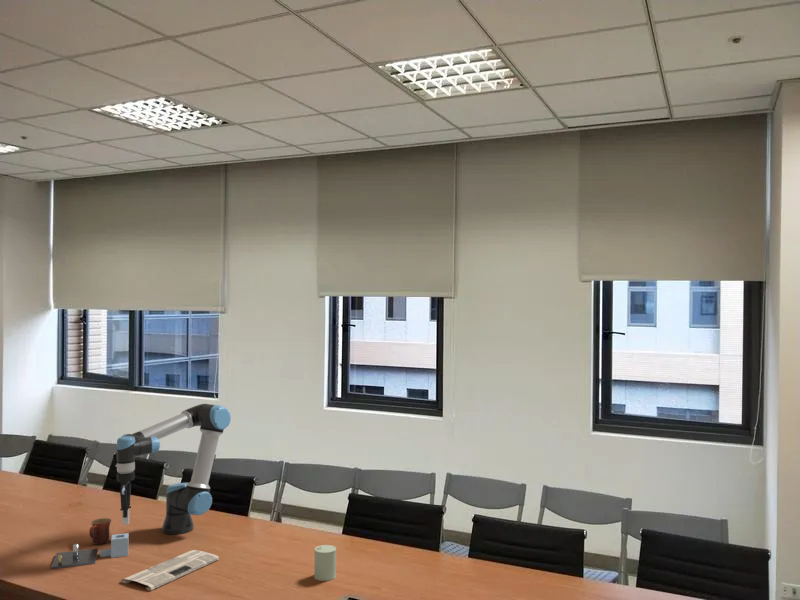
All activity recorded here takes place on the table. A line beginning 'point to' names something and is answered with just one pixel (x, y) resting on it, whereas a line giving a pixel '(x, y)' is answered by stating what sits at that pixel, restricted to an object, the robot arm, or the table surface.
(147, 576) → the newspaper
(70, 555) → the post plate
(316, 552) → the can
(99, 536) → the mug
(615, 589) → the table surface
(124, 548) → the hollow square cube
